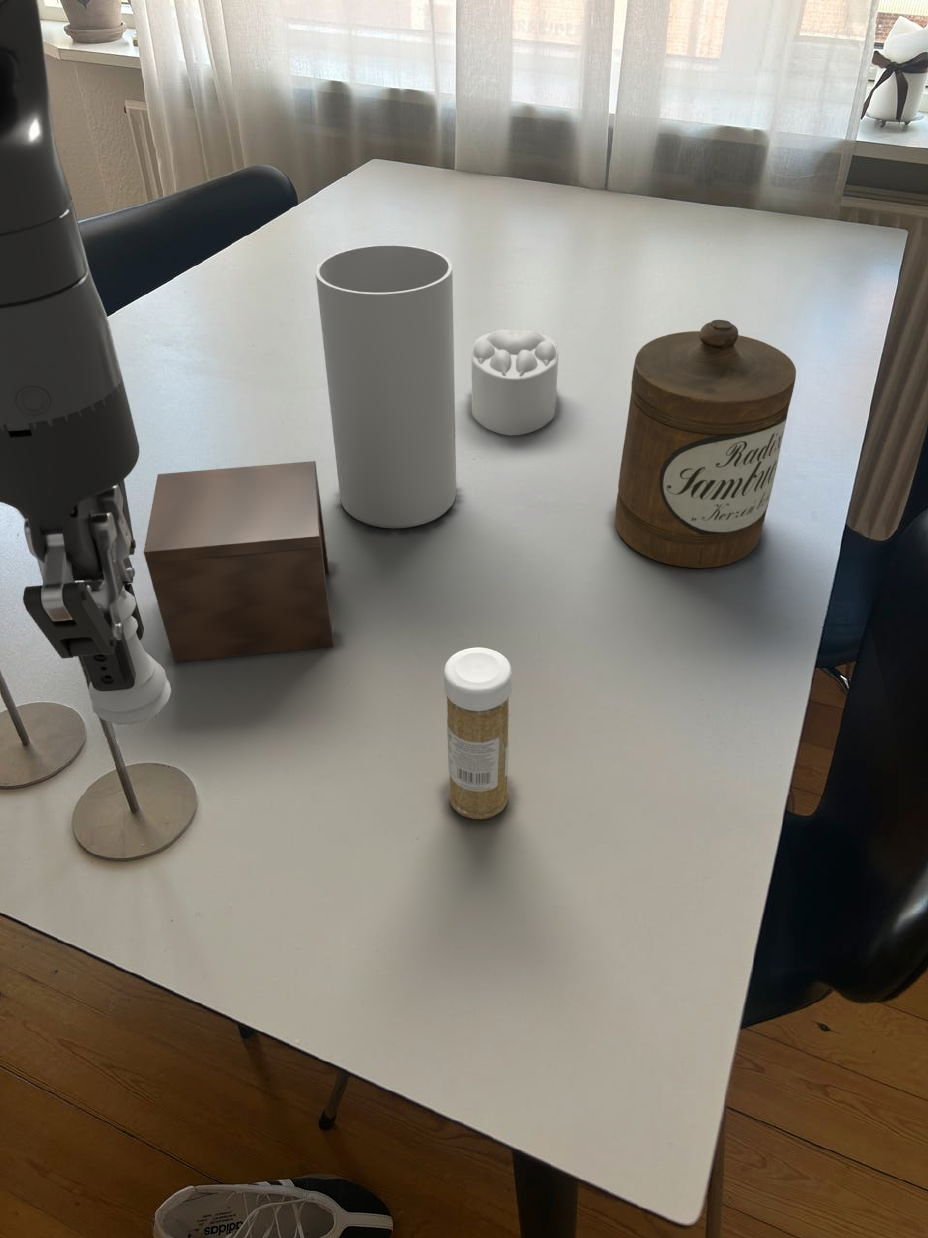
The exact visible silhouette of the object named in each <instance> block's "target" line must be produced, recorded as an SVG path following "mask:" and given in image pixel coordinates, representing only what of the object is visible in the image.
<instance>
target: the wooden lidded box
mask: <svg viewBox="0 0 928 1238" xmlns="http://www.w3.org/2000/svg"><path fill="white" fill-rule="evenodd" d="M317 471H318V470H317V463H316V461H315V460H312V461H300V462H298V461H297V462H288V463H276V464H263V465H251V466H240V467H239V466H238V467H227V468H217V469H216V468H215V469H201V470H194V471H193V470H191V471H190V470H189V471H180V472H166V473H157V476H156V481H155V486H154V487H155V488H154V492H153V498H152V504H151V508H150V509H151V510H150V514H149V520H148V525H147V531H146V537H145V542H144V547H143V555H144V556H143V557H144V560H145V563H146V567H147V571H148V573H149V578H150V581H151V584H152V588H153V591H154V597H155V600H156V603H157V606H158V610H159V613H160V617H161V621H162V624H163V628H164V632H165V635H166V639H167V643H168V647H169V650H170V654H171V657H172V661H173V663H182V662H183V663H185V662H192V661H203V660H211V659H220V658H230V657H231V658H232V657H241V656H251V655H260V654H270V653H280V652H289V651H298V650H307V649H308V650H309V649H317V648H328V647H334V645H335V644H334V642H335V641H334V633H333V625H332V618H331V617H332V616H331V608H330V602H329V593H328V586H327V577H326V575H327V574H328V575H329V574H330V567H329V559H328V551H327V543H326V536H325V527H324V518H323V512H322V511H323V510H322V502H321V495H320V487H319V478H318V472H317Z"/></svg>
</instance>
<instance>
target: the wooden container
mask: <svg viewBox="0 0 928 1238" xmlns="http://www.w3.org/2000/svg"><path fill="white" fill-rule="evenodd" d="M791 359H792V358H790V357H789V356H788V355H786V354H785V353H784V352H783V351H781V350H780V349H778V348H776V347H774V346H773V345H771V344H768V343H766V342H764V341H761V340H759V339H756V338H752V337H750V336H749V337H748V336H746V335H745V336H744V335H741V334H739V329H738V327H737V326H736V325H734V324H733V323H731V322H730V321H728V320H725V319H714V320H712V321H710V322H707V323H705V324H704V325H703V326H702V327H701V329H700V330H690V331H680V332H674V333H670V334H669V333H668V334H666V335H662V336H659V337H656V338H654V339H652V340H650V341H648V342H647V343H645V344H644V345H642V347H641V348H640V349H639V350H638V352H637V353H636V356H635V360H634V364H633V369H632V377H631V391H630V397H629V406H628V413H627V420H626V427H625V434H624V439H623V440H624V441H623V446H622V453H621V461H620V467H619V468H620V469H619V476H618V483H617V489H618V491H617V495H616V504H615V512H614V524H615V529H616V531H617V532H618V534H619V536H620V537H621V539H622V540H623V541H624V542H625V544H627V545H628V546H629V547H630V548H632V549H633V550H634V551H636V552H637V553H639V554H641V555H643V556H644V557H647V558H648V559H652V560H654V561H656V562H660V563H663V564H667V565H671V566H675V567H681V568H691V569H692V568H693V569H705V568H706V569H707V568H716V567H722V566H727V565H730V564H733V563H734V562H738V561H740V560H742V559H743V558H745V557H747V556H748V555H749V554H750V553H752V552H753V550H754V549H755V548H756V546H757V545H758V543H759V541H760V538H761V534H762V531H763V527H764V523H765V519H766V515H767V510H768V507H769V502H770V500H771V495H772V491H773V487H774V483H775V477H776V472H777V468H778V465H779V464H778V462H779V458H780V452H781V447H782V442H783V438H784V433H785V429H786V424H787V420H788V419H787V418H788V413H789V408H790V404H791V402H792V397H793V393H794V388H795V383H796V378H797V377H796V376H797V368H796V366H795V364H794V362H793V360H791Z"/></svg>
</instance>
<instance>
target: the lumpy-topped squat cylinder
mask: <svg viewBox="0 0 928 1238" xmlns="http://www.w3.org/2000/svg"><path fill="white" fill-rule="evenodd" d="M558 349H559V348H558V345H557V342H556V340H555V339H554V337H551V336H549V335H546V334H544V333H539V332H538V331H537V330H533V329H523V330H522V329H521V330H520V329H519V330H514V329H502V328H501V329H496V330H494V331H493V332H488V333H485V334H483V335H481V336H479V337H478V338H476V340H475V342H474V344H473V347H472V350H471V416H472V417H473V419H474V420H475V421H476V422H478V423H479V424H480V426H482V427H483V428H484V429H487V430H489V431H490V432H491V431H492V432H494V433H496V434H501V435H504V436H521V435H527V434H530V433H532V432H536V431H538V430H540V429H542V428H543V427H545V426H546V425H548V423H550V422H551V421H552V420H553V419H554V417H555V414H556V406H557V405H556V404H557V386H558V369H559V350H558Z"/></svg>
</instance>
